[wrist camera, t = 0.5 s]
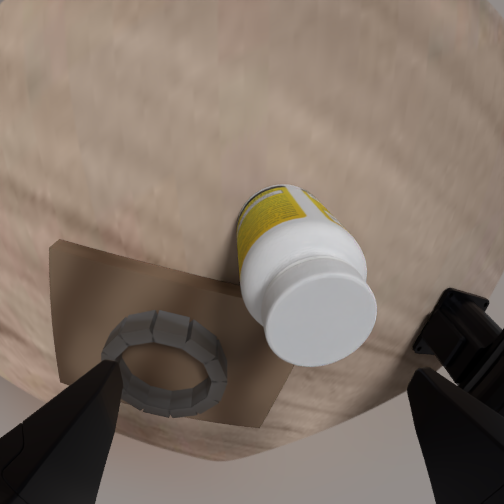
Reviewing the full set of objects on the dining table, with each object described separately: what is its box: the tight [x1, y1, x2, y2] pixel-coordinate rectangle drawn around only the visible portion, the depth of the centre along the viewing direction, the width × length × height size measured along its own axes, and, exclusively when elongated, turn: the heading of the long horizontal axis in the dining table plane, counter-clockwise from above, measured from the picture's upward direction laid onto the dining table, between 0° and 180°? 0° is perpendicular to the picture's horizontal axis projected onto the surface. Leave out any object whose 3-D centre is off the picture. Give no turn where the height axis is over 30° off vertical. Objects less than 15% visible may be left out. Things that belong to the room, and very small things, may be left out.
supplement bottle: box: [237, 184, 377, 367], centre depth 15 cm, size 5×5×10 cm
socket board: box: [49, 239, 294, 428], centre depth 21 cm, size 18×13×4 cm
